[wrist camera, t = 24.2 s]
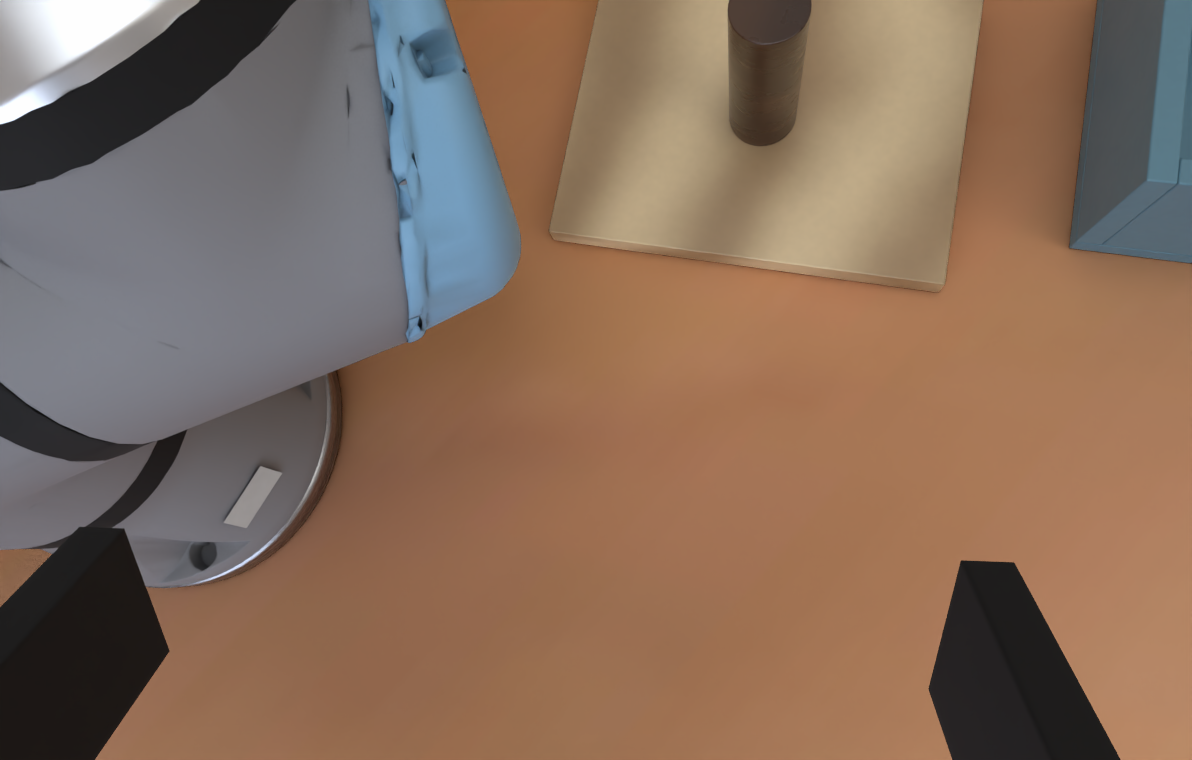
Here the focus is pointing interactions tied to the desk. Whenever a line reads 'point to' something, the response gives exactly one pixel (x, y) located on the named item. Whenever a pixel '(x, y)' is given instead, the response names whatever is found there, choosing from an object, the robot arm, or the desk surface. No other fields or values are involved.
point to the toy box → (1137, 133)
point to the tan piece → (774, 134)
